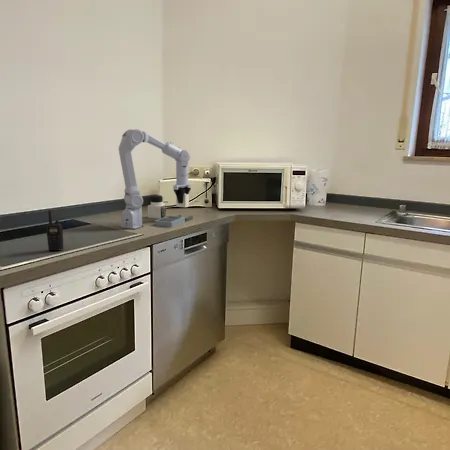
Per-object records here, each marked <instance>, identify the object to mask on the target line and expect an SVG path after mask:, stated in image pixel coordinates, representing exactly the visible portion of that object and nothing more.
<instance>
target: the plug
mask: <svg viewBox="0 0 450 450" xmlns="http://www.w3.org/2000/svg"><path fill="white" fill-rule="evenodd" d="M175 197H176V203H175V204H176V207H179V208H188V207H190V193H189V194H186V193H184V196H183V203H178V200H177V196H176V195H175Z"/></svg>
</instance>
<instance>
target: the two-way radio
mask: <svg viewBox="0 0 450 450" xmlns="http://www.w3.org/2000/svg"><path fill="white" fill-rule="evenodd" d="M45 230H46V238H47V248H48V251H49V250H59V249H63V250H64V231H63V226H62V224H61V223H60V222H59V219H55V221H54V223H53V220H52V211H51V210H50V209H49V210H48V224H47V225H46V229H45Z"/></svg>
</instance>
